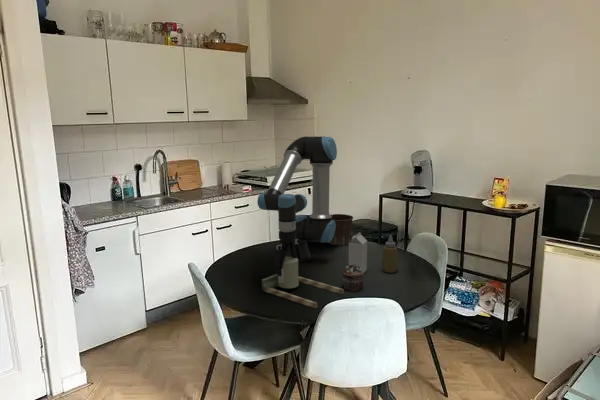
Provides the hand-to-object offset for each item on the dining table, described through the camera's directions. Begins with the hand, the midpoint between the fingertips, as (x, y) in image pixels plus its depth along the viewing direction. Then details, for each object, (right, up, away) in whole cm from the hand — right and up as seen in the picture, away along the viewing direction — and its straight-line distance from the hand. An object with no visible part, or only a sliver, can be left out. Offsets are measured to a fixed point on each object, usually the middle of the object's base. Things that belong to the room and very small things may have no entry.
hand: (288, 279), depth 200 cm
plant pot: (+29, +9, +70) cm, 76 cm away
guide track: (+6, -5, -5) cm, 9 cm away
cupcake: (+29, -4, 0) cm, 29 cm away
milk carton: (+33, 0, +20) cm, 39 cm away
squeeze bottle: (+49, 0, +20) cm, 53 cm away
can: (0, -3, 0) cm, 3 cm away
